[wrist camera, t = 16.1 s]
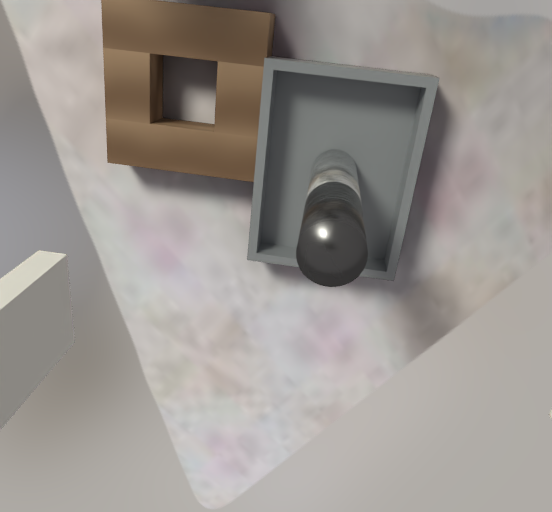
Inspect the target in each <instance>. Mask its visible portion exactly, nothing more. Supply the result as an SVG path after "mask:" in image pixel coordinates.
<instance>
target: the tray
mask: <svg viewBox="0 0 552 512" xmlns="http://www.w3.org/2000/svg"><path fill="white" fill-rule="evenodd" d="M438 82H439V78H438V77H436V76H433V75H429V74H421V73H412V72H403V71H395V70H386V69H378V68H369V67H360V66H352V65H343V64H334V63H326V62H317V61H309V60H300V59H291V58H283V57H274V56H271V57H268V58H264V69H263V81H262V93H261V104H260V116H259V128H258V139H257V151H256V162H255V174H254V186H253V197H252V209H251V221H250V232H249V244H248V256H247V260H251V261H258V262H265V263H272V264H279V265H286V266H293V267H299V266H298V263H297V259H296V249H297V244H298V238H299V233H300V228H301V223H302V218H303V213H304V207H305V202H306V197H307V192H308V187H309V182H310V176H311V171H312V166H313V163H314V161H315V159H316V158H317V157H318V156H319V155H320V154H321V153H323V152H325V151H327V150H331V149H338V150H342V151H345V152H346V153H348V154H349V155H350V156H351V157H352V158H353V160H354V161H355V164H356V168H357V175H358V183H359V190H360V197H361V205H362V212H363V219H364V227H365V234H366V241H367V249H368V259H367V263H366V266H365V268H364V270H363V271H362V273H361V274H360V275H359V276H362V277H369V278H376V279H383V280H390V281H394V278H395V273H396V269H397V265H398V260H399V256H400V251H401V247H402V242H403V238H404V233H405V229H406V225H407V220H408V216H409V211H410V207H411V202H412V198H413V193H414V189H415V185H416V180H417V176H418V171H419V167H420V162H421V158H422V153H423V149H424V145H425V140H426V136H427V131H428V127H429V122H430V118H431V113H432V109H433V105H434V100H435V96H436V91H437V87H438Z"/></svg>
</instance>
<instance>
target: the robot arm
mask: <svg viewBox="0 0 552 512" xmlns="http://www.w3.org/2000/svg"><path fill="white" fill-rule="evenodd" d="M74 343H75V337H74V325H73V314H72V304H71V292H70V282H69V271H68V260H67V254H61V253H53V252H46V251H37V252H36V253H35V254H33V255H32V256H31V257H30V258H28V259H27V260H25V261H24V262H23V263H21V264H20V265H18V266H17V267H16V268H14V269H13V270H12V271H10V272H9V273H8V274H6V275H5V276H4V277H3V278H1V279H0V430H1V429H2V428H3V427H4V425H5V424H6V423H7V422H8V421H9V419H10V418H11V417H12V416H13V415H14V414H15V412H16V411H17V410H18V409H19V408H20V406H21V405H22V404H23V403H24V402H25V400H26V399H27V398H28V397H29V396H30V395H31V393H32V392H33V391H34V390H35V389H36V388H37V386H38V385H39V384H40V383H41V381H42V380H43V379H44V378H45V377H46V376H47V374H48V373H49V372H50V371H51V370H52V369H53V367H54V366H55V365H56V364H57V363H58V362H59V360H60V359H61V358H62V357H63V355H64V354H65V353H66V352H67V351H68V350H69V348H70V347H71V346H72V345H73V344H74ZM549 415H550V417H551V419H552V409H551V411H550V414H549Z"/></svg>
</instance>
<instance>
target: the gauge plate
mask: <svg viewBox="0 0 552 512" xmlns="http://www.w3.org/2000/svg"><path fill="white" fill-rule="evenodd" d="M101 3H102V29H103V55H104V81H105V107H106V133H107V159H108V163H115V164H122V165H130V166H137V167H145V168H152V169H160V170H167V171H175V172H182V173H190V174H197V175H205V176H212V177H220V178H227V179H235V180H242V181H250V182H254V174H255V162H256V151H257V139H258V128H259V116H260V104H261V93H262V81H263V69H264V58H268V57H271V56H272V48H273V37H274V26H275V14H272V13H266V12H257V11H248V10H239V9H229V8H220V7H211V6H202V5H193V4H184V3H175V2H166V1H157V0H101ZM163 55H168V56H177V57H185V58H194V59H202V60H211V61H218V67H217V87H216V107H215V124H207V123H199V122H191V121H184V120H176V119H168V118H162V113H163Z"/></svg>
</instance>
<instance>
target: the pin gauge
mask: <svg viewBox="0 0 552 512" xmlns="http://www.w3.org/2000/svg"><path fill="white" fill-rule="evenodd" d="M296 259H297V263H298V266H299V268H300V270H301V271H302V272H303V274H304V275H305V276H306V277H307V278H308V279H310V280H311V281H313V282H315V283H317V284H319V285H323V286H329V287H336V286H342V285H345V284H347V283H350V282H351V281H353V280H354V279H356V278H357V277H358V276H359V275H360V274H361V273H362V271H363V270H364V268H365V266H366V263H367V259H368V249H367V241H366V234H365V227H364V219H363V212H362V205H361V197H360V190H359V183H358V175H357V168H356V164H355V161H354V160H353V158H352V157H351V156H350V155H349V154H348V153H346V152H345V151H342V150H338V149H331V150H327V151H325V152H323V153H321V154H320V155H319V156H318V157H317V158H316V159H315V161H314V163H313V166H312V171H311V176H310V182H309V187H308V192H307V197H306V202H305V207H304V213H303V218H302V223H301V228H300V233H299V238H298V244H297V249H296Z"/></svg>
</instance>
